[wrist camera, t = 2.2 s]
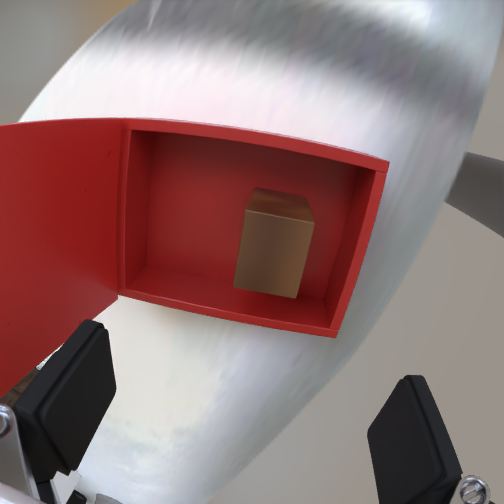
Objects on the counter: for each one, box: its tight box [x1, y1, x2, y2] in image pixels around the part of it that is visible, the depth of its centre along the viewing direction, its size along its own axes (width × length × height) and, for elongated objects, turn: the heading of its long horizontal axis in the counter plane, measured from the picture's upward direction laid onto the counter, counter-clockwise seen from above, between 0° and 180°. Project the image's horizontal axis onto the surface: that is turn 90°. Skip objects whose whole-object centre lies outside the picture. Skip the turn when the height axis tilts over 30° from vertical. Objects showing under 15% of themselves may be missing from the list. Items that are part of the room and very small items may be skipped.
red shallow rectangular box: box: [116, 118, 390, 338], centre depth 23 cm, size 18×14×5 cm
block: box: [233, 187, 315, 298], centre depth 22 cm, size 4×5×7 cm
